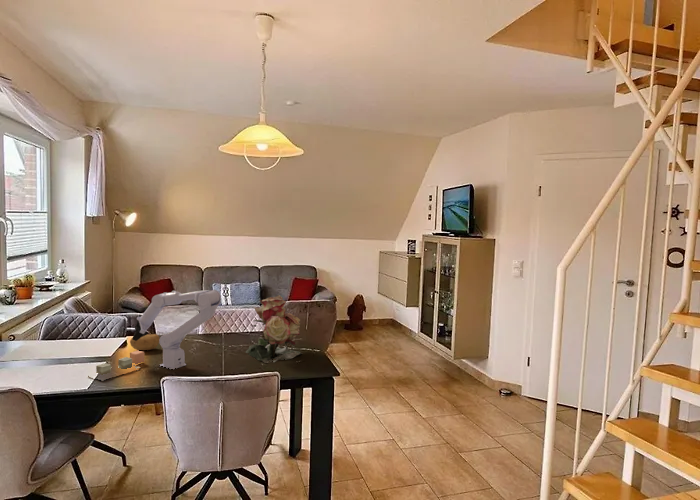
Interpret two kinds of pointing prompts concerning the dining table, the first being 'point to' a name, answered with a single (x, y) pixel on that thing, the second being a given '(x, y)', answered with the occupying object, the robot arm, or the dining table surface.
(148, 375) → the dining table surface
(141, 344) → the potato
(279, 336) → the rose bouquet
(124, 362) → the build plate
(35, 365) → the dining table surface
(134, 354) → the terracotta block
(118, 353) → the dining table surface
